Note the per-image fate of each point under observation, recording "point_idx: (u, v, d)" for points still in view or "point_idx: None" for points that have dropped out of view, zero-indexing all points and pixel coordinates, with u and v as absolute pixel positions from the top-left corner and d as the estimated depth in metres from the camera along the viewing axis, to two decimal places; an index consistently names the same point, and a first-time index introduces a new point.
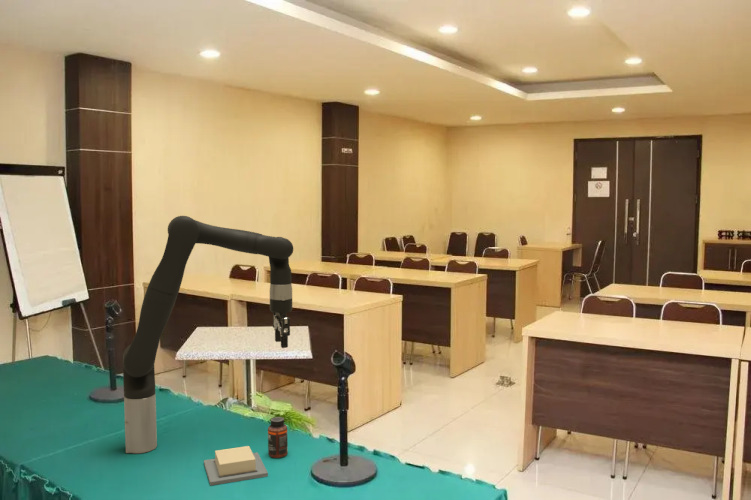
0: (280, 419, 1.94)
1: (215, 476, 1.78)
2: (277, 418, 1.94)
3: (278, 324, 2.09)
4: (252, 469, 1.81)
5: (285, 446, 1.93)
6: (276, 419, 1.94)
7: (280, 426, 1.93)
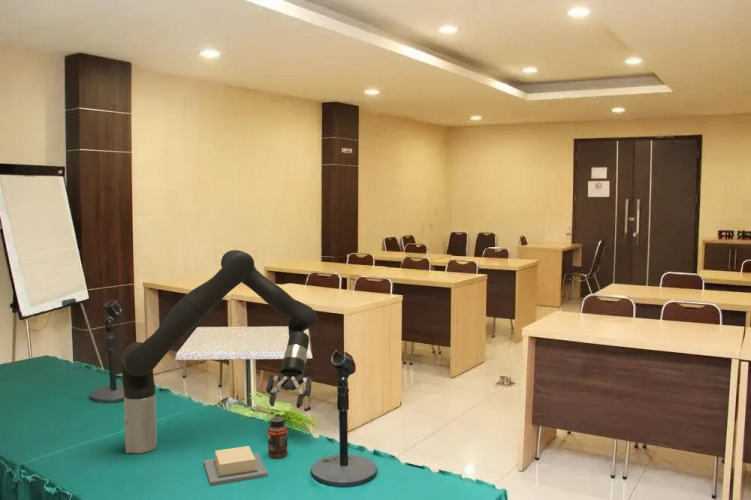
0: (280, 419, 1.94)
1: (215, 476, 1.78)
2: (277, 418, 1.94)
3: (297, 382, 2.05)
4: (252, 469, 1.81)
5: (285, 446, 1.93)
6: (276, 419, 1.94)
7: (280, 426, 1.93)
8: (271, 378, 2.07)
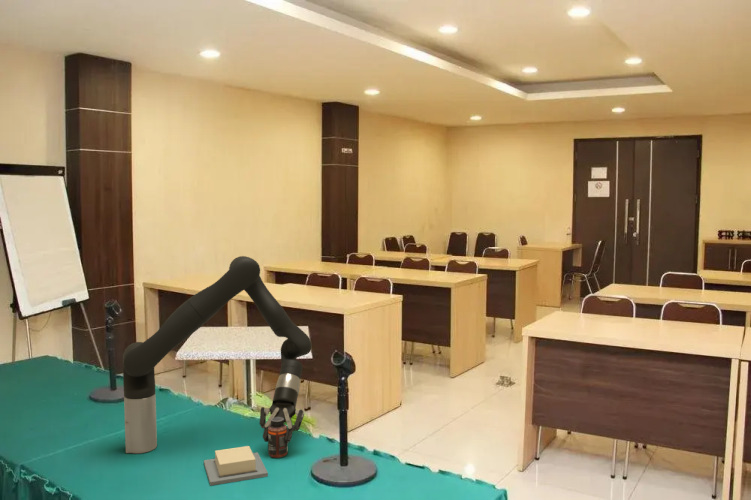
0: (280, 419, 1.94)
1: (215, 476, 1.78)
2: (277, 418, 1.94)
3: (288, 415, 1.96)
4: (252, 469, 1.81)
5: (285, 446, 1.93)
6: (276, 419, 1.94)
7: (280, 426, 1.93)
8: (262, 411, 1.98)
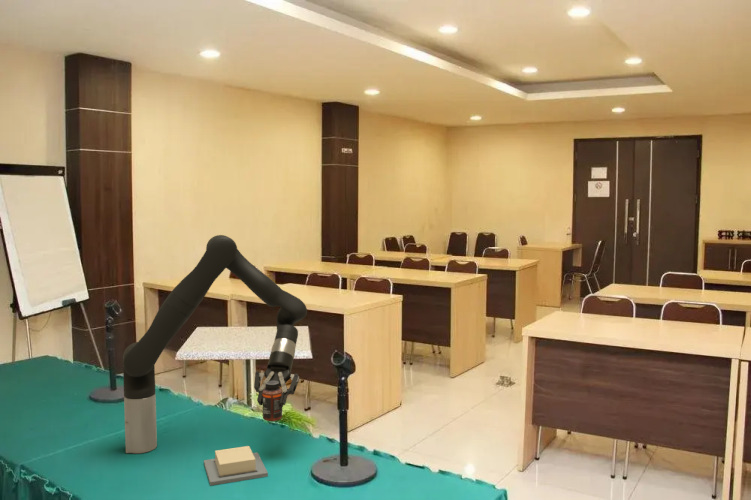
0: (275, 382, 1.92)
1: (215, 476, 1.78)
2: (272, 382, 1.92)
3: (283, 379, 1.94)
4: (252, 469, 1.81)
5: (280, 410, 1.91)
6: (271, 382, 1.92)
7: (275, 389, 1.90)
8: (257, 375, 1.96)
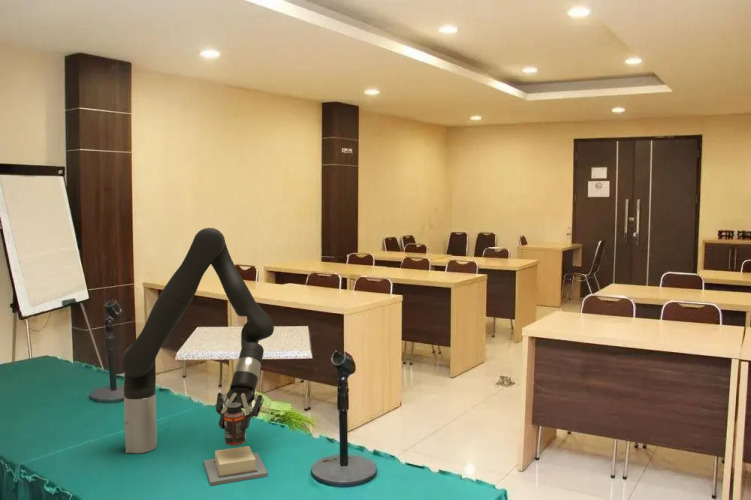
0: (237, 405, 1.82)
1: (215, 476, 1.78)
2: (234, 404, 1.83)
3: (246, 401, 1.85)
4: (252, 469, 1.81)
5: (242, 433, 1.82)
6: (233, 404, 1.83)
7: (236, 412, 1.81)
8: (219, 397, 1.87)
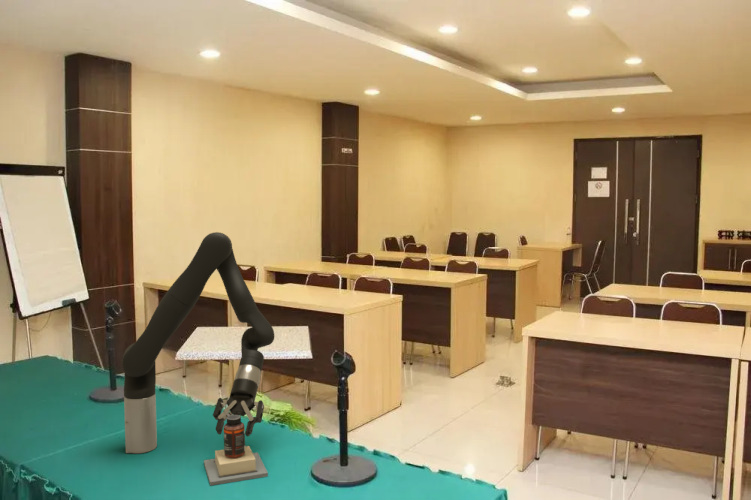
0: (237, 417, 1.83)
1: (215, 476, 1.78)
2: (234, 416, 1.83)
3: (247, 407, 1.85)
4: (252, 469, 1.81)
5: (242, 445, 1.82)
6: (232, 417, 1.83)
7: (236, 424, 1.82)
8: (219, 402, 1.88)
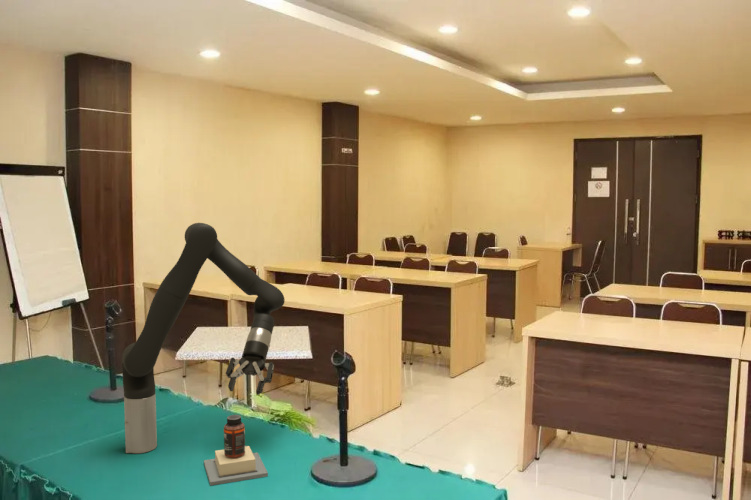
0: (237, 417, 1.83)
1: (215, 476, 1.78)
2: (234, 416, 1.83)
3: (259, 368, 1.97)
4: (252, 469, 1.81)
5: (242, 445, 1.82)
6: (233, 417, 1.83)
7: (236, 424, 1.82)
8: (232, 361, 1.99)
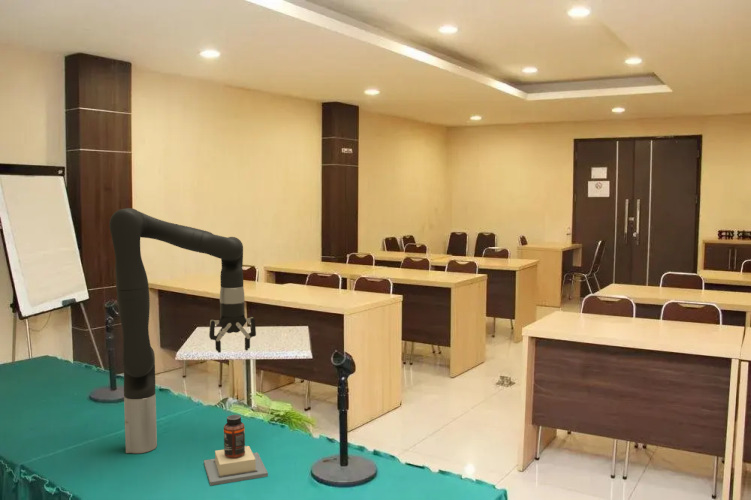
0: (237, 417, 1.83)
1: (215, 476, 1.78)
2: (234, 416, 1.83)
3: None
4: (252, 469, 1.81)
5: (242, 445, 1.82)
6: (232, 417, 1.83)
7: (236, 424, 1.82)
8: (213, 325, 1.97)
